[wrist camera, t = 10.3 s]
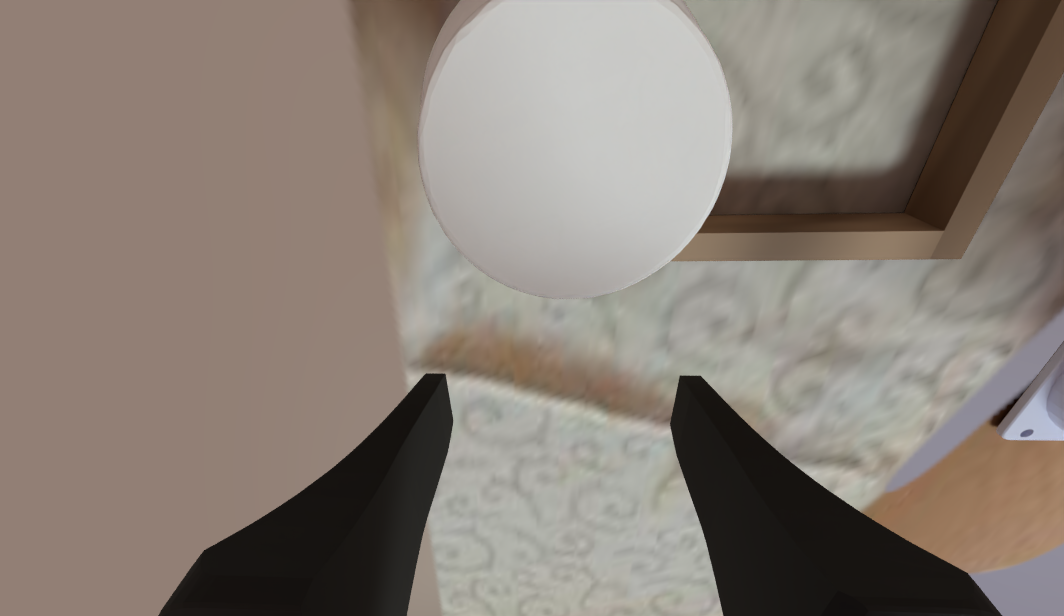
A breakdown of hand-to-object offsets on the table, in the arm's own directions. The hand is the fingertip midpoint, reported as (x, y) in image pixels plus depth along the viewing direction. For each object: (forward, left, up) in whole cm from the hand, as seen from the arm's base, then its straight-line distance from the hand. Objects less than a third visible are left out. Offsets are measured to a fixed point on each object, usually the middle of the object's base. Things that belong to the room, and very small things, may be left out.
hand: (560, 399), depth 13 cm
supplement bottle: (0, -8, -6) cm, 10 cm away
